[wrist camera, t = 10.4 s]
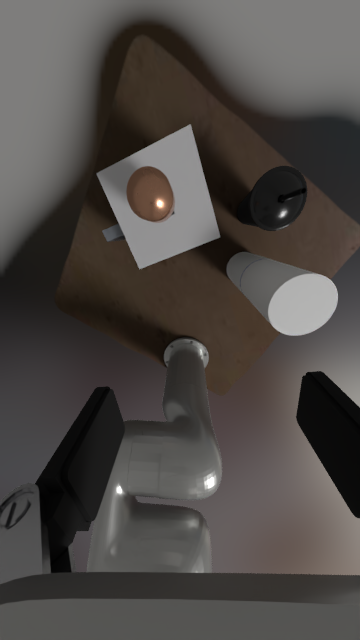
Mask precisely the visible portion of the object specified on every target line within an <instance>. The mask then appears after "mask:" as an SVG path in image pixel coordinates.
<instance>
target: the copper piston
mask: <svg viewBox="0 0 360 640" xmlns="http://www.w3.org/2000/svg"><path fill="white" fill-rule="evenodd" d="M126 193H127V200H128V203H129V206H130V208H131V209H132V211H133V212H134V213H135V214H136V215H137V216H138V217H140V218H142V219H144V220H147V221H150V222H153V223H161V222H164V221H166V220H167V219H168V218H169V217H170V216H171V215H173V214H175V213H174V207H175V197H174V193H173V190H172V188H171V185H170V182H169V180H168V178H167V177H166V176H165V174H164V173H163V172H162V171H160V170H159V169H157V168H155V167H151V166H145V167H141V168H139V169H137V170H136V171H135V172H134V173H133V174H132V175H131V177H130V178H129V181H128V184H127V190H126Z"/></svg>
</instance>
